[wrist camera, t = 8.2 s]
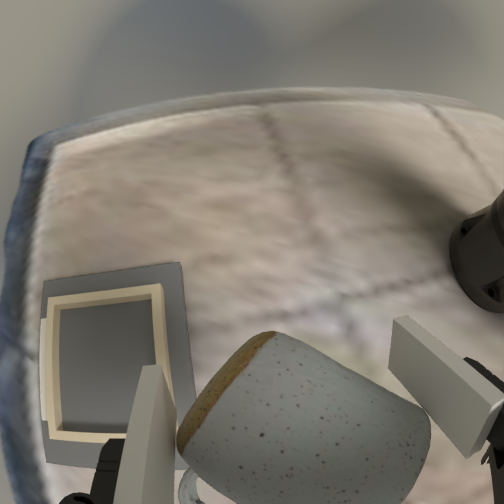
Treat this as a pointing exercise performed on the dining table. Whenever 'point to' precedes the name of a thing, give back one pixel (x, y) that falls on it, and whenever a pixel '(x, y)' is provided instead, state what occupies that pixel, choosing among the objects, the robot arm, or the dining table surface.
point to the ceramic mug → (299, 431)
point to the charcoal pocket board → (108, 356)
